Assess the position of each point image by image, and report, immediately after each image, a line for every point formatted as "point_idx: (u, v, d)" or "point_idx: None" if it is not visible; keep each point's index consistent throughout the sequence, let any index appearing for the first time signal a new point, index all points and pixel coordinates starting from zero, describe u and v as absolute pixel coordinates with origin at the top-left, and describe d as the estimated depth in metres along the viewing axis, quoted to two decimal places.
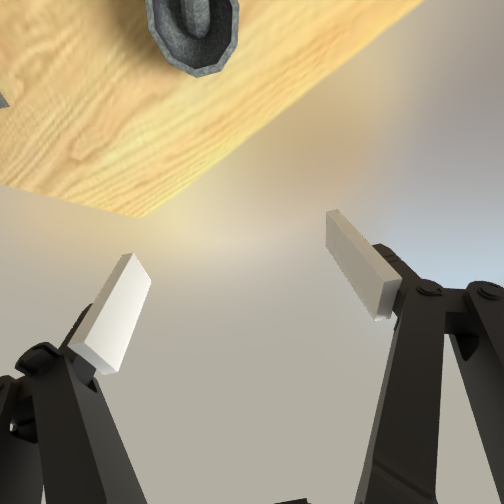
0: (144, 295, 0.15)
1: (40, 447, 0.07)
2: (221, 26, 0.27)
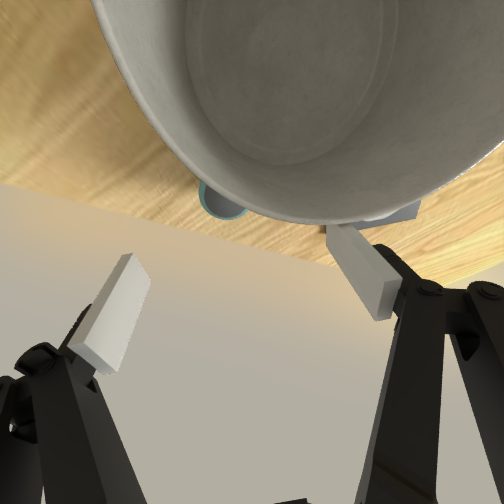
0: (144, 295, 0.15)
1: (40, 447, 0.07)
2: None
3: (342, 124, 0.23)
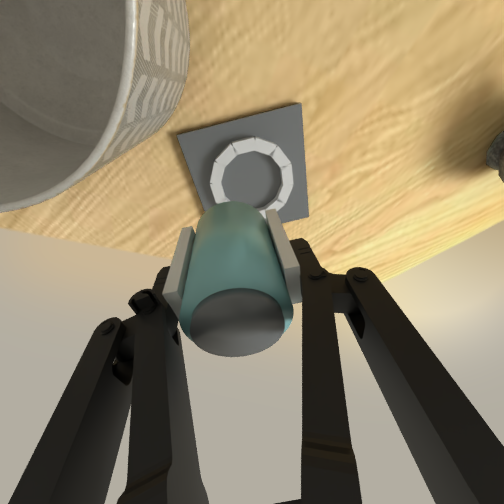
0: None
1: (133, 379, 0.08)
2: None
3: None
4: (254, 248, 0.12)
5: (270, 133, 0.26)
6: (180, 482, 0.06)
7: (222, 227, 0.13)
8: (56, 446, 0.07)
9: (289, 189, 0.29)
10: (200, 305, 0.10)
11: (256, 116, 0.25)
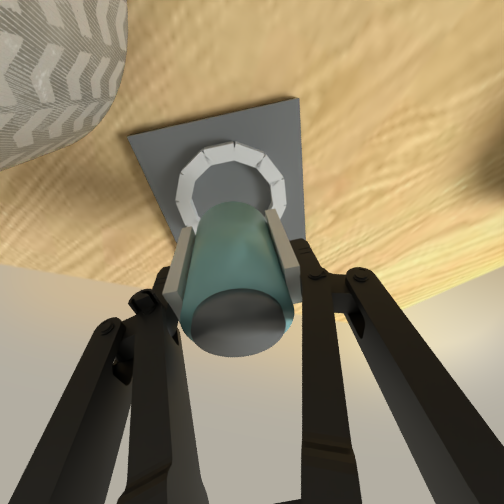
0: None
1: (133, 379, 0.08)
2: None
3: None
4: (255, 248, 0.12)
5: (256, 138, 0.19)
6: (180, 481, 0.06)
7: (223, 227, 0.13)
8: (56, 445, 0.07)
9: (281, 210, 0.22)
10: (201, 305, 0.10)
11: (237, 114, 0.18)
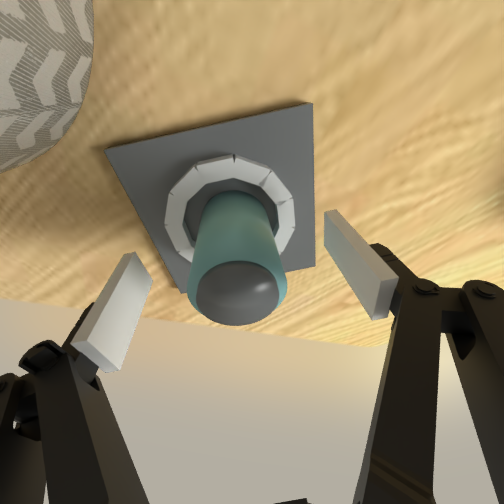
0: (146, 294, 0.15)
1: (43, 444, 0.07)
2: None
3: None
4: (254, 229, 0.13)
5: (260, 150, 0.16)
6: None
7: (226, 211, 0.14)
8: None
9: (288, 233, 0.19)
10: (205, 274, 0.11)
11: (237, 122, 0.15)
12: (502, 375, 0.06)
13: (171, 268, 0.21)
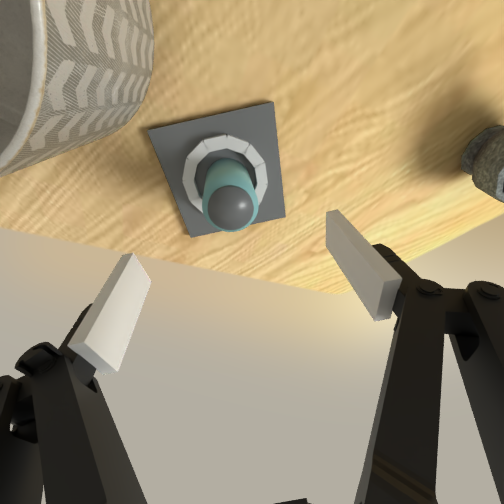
0: (144, 295, 0.15)
1: (40, 447, 0.07)
2: None
3: None
4: (239, 173, 0.23)
5: (243, 131, 0.25)
6: None
7: (223, 166, 0.24)
8: None
9: (264, 188, 0.29)
10: (213, 193, 0.21)
11: (228, 113, 0.24)
12: None
13: (184, 216, 0.31)
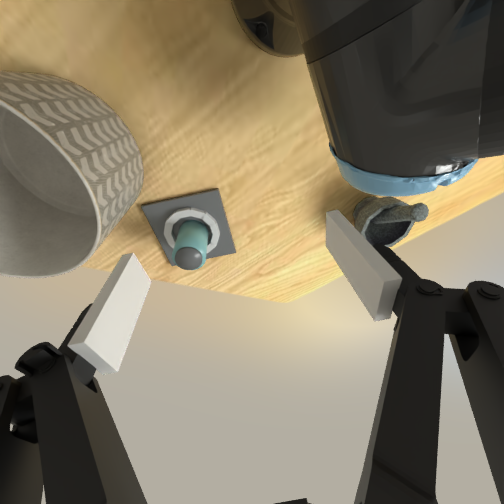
0: (144, 295, 0.15)
1: (40, 447, 0.07)
2: None
3: None
4: (195, 236, 0.38)
5: (201, 205, 0.41)
6: None
7: (187, 229, 0.39)
8: None
9: (217, 237, 0.44)
10: (177, 251, 0.36)
11: (190, 196, 0.40)
12: None
13: (167, 253, 0.46)
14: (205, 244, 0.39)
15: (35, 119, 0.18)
